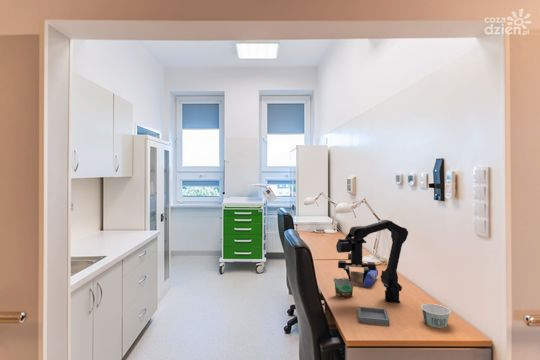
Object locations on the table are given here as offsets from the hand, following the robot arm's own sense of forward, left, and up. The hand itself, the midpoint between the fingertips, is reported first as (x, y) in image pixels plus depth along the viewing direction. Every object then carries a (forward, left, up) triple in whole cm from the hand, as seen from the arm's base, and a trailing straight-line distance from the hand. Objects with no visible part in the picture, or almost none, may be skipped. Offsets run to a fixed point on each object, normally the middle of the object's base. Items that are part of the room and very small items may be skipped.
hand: (356, 281), depth 167 cm
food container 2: (-34, +15, -12) cm, 39 cm away
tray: (-7, +16, -12) cm, 20 cm away
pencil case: (-9, -37, -12) cm, 40 cm away
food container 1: (+5, -9, -12) cm, 16 cm away
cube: (0, 0, -2) cm, 2 cm away
